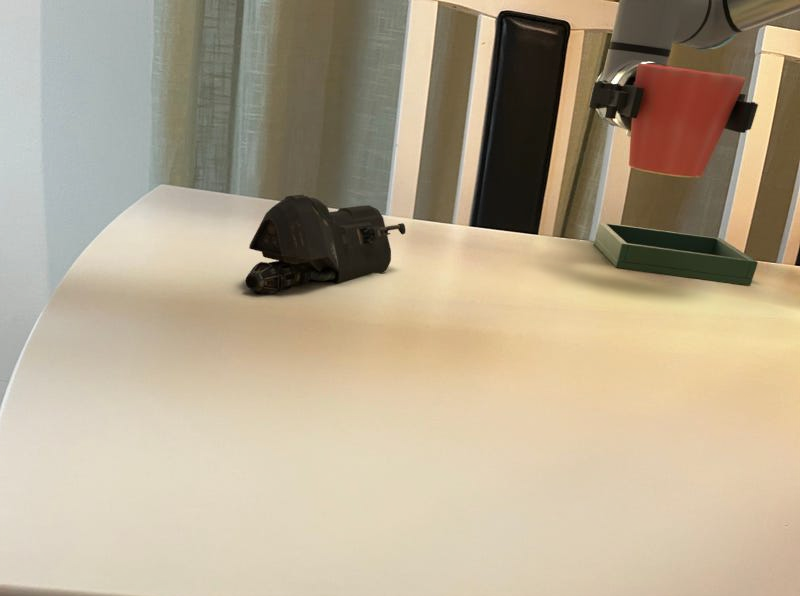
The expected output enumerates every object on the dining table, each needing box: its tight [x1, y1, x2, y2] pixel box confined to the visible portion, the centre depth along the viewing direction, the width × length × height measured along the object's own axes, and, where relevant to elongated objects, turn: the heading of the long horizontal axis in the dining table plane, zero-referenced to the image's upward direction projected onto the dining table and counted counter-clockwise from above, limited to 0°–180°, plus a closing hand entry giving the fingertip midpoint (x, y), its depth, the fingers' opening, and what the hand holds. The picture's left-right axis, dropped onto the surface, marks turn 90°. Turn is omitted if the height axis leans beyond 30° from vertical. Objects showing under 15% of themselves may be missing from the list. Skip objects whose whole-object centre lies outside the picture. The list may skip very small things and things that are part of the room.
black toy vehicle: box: [245, 194, 406, 295], centre depth 95 cm, size 7×25×8 cm, turn 152°
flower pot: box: [628, 63, 746, 179], centre depth 105 cm, size 11×11×10 cm
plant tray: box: [593, 221, 759, 287], centre depth 129 cm, size 17×17×3 cm
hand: (691, 110), depth 101 cm, fingers closed on flower pot, 10 cm apart
